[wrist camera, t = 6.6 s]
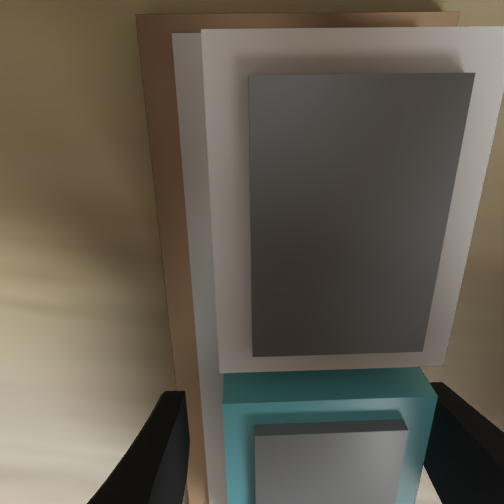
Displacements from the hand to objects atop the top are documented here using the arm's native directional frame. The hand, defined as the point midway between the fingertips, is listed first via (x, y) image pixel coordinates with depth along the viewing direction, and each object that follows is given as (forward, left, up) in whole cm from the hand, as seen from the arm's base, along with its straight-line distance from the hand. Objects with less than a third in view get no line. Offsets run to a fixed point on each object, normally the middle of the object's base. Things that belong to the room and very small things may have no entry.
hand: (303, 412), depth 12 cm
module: (0, 0, -3) cm, 3 cm away
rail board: (0, 0, -4) cm, 4 cm away
